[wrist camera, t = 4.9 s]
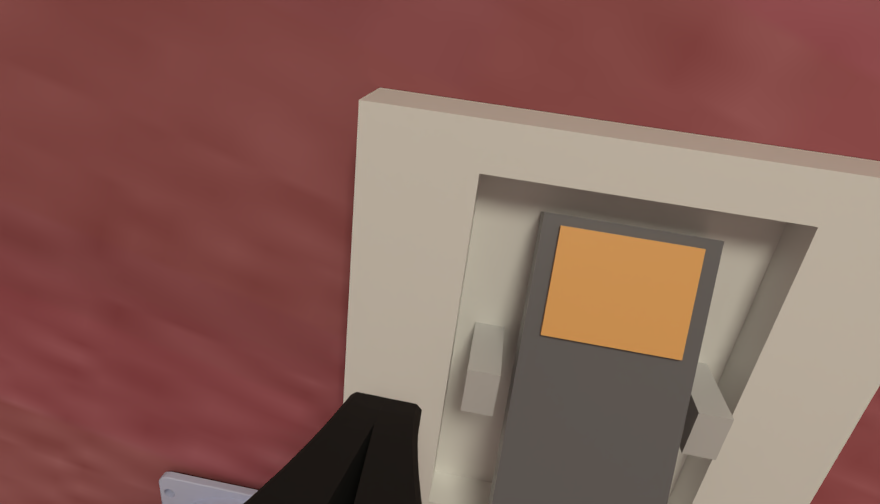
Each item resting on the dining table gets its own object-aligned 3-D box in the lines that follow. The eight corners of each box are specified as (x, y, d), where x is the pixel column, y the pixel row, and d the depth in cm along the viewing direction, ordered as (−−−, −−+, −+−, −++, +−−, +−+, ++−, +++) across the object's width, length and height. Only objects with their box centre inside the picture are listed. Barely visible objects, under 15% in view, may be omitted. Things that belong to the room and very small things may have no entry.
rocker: (635, 575, 18) (647, 606, 16) (481, 542, 18) (480, 570, 17) (707, 238, 16) (726, 241, 15) (541, 211, 17) (545, 211, 15)
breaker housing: (732, 543, 22) (766, 632, 19) (354, 465, 24) (327, 536, 21) (930, 168, 15) (1033, 211, 12) (380, 87, 17) (345, 107, 14)
